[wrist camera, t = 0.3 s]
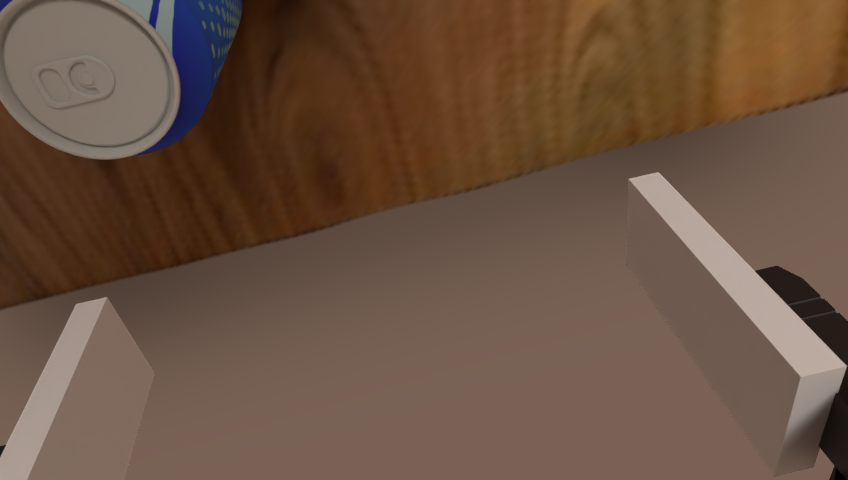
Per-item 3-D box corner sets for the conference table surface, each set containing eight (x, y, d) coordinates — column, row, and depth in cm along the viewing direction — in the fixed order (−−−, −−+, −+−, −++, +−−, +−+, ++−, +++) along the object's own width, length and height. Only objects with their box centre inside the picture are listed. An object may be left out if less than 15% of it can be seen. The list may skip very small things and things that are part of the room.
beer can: (113, -126, 33) (-25, -93, 20) (265, -46, 36) (235, 29, 23) (76, 20, 36) (-61, 130, 23) (217, 81, 39) (167, 208, 26)
